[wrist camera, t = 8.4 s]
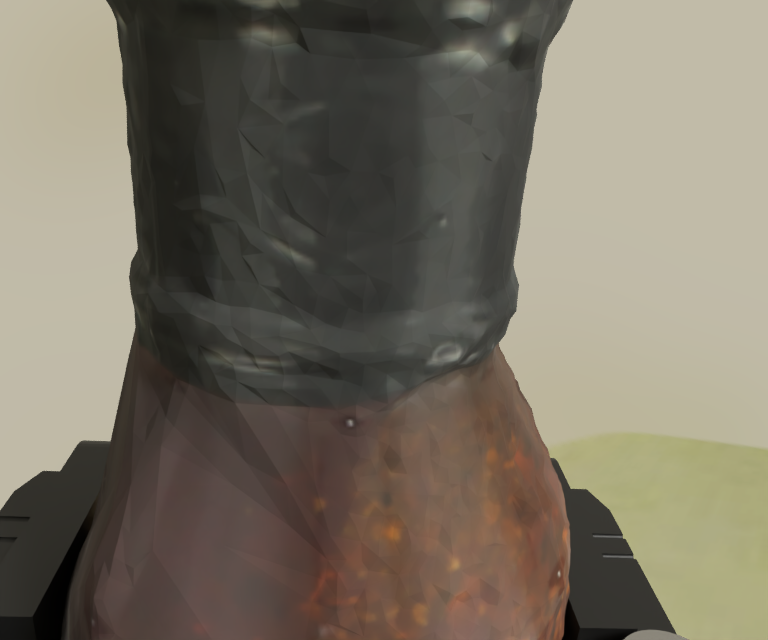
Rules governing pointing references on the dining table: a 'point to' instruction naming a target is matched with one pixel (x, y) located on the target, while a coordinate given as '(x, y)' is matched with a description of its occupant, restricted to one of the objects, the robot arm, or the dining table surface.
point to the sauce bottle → (326, 330)
